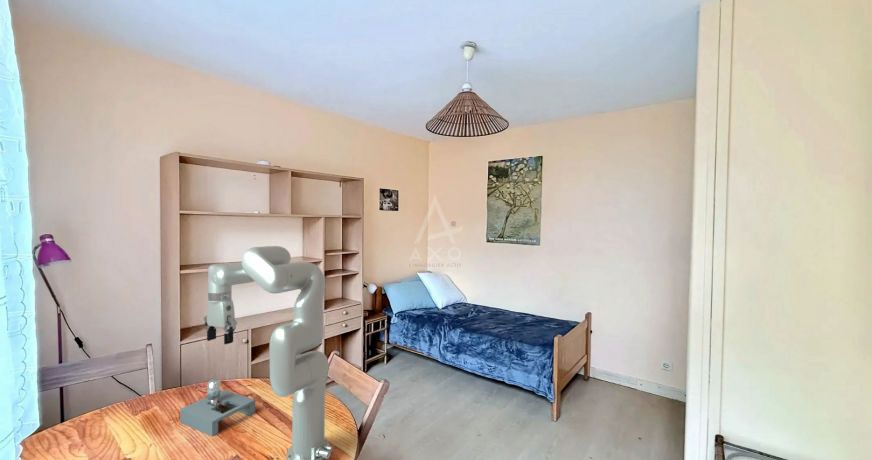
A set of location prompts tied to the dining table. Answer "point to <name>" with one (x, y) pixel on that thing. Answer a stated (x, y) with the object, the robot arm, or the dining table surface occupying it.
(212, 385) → the steel peg
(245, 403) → the keyhole plate
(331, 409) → the dining table surface
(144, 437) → the dining table surface
